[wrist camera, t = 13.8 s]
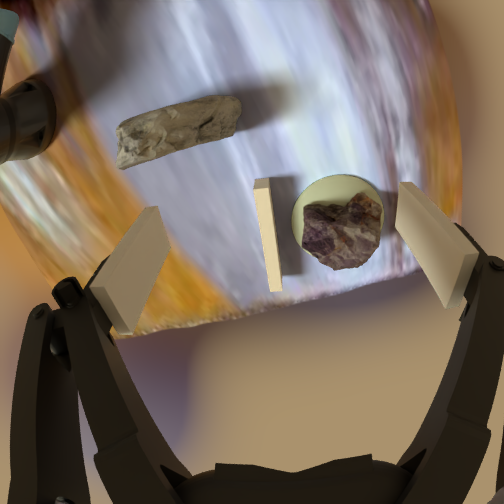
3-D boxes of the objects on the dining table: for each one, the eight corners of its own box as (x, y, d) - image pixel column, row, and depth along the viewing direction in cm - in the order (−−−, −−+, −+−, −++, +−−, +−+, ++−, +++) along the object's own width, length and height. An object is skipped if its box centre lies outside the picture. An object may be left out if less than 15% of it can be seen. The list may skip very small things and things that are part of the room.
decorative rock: (143, 157, 40) (91, 197, 27) (132, 117, 36) (72, 141, 24) (249, 133, 37) (235, 164, 25) (240, 88, 33) (219, 92, 21)
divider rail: (270, 276, 51) (270, 291, 47) (255, 179, 41) (253, 189, 37) (282, 275, 50) (282, 290, 47) (268, 177, 40) (268, 187, 37)
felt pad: (295, 262, 49) (295, 265, 48) (286, 179, 40) (286, 180, 40) (379, 254, 46) (380, 256, 46) (384, 172, 38) (386, 173, 38)
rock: (302, 189, 42) (305, 246, 47) (297, 213, 35) (300, 278, 40) (379, 190, 39) (375, 248, 44) (391, 215, 32) (382, 280, 37)
